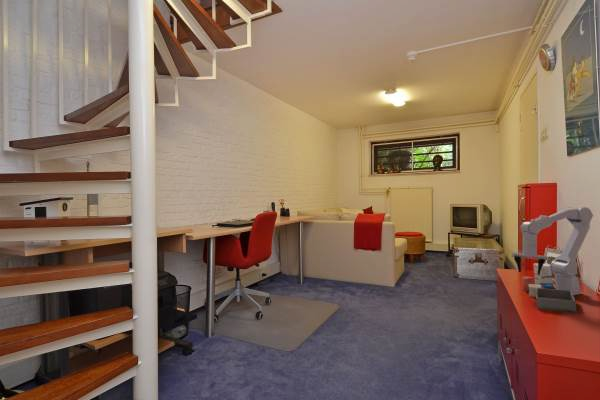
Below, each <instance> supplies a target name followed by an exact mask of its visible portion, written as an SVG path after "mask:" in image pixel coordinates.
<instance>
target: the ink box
mask: <svg viewBox="0 0 600 400" xmlns="http://www.w3.org/2000/svg"><path fill="white" fill-rule="evenodd" d="M533 272H534V284H535V285H541V288H543V289H554V282H553V281H554V280H553V274H552V273H553V272H552V271H551V269H550V264H546V263H544V264H543V266H542V268H541V271H540V275H538V262H537V263H536V262H535V263H533Z"/></svg>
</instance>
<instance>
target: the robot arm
mask: <svg viewBox="0 0 600 400" xmlns="http://www.w3.org/2000/svg"><path fill="white" fill-rule="evenodd" d="M593 217H594V214H593V212H592V210H591V209H590V207H585V206H584V207H572V206H570V207H569V206H568V207H566V208H563V209H561V210H559V211H557V212H556V213H553V214H551V215H549V216H548V215H543V214H542V215H539V216H538V217H536V218H534V219H533V218H532V219H530V221H523V222H522V224H521V225H520V226H519V230H520V231H521V233H522V234H521V235H522V253H520V252H518V253H517V252H511V257H512V258H513V259H514V261H515V263H516V266H517V269H518V273H521V272H522V265H521V264H522V259H531V260H537V263H538V275H540V271H541V268H542V266H543V264H545V262H546V261H547V262H548V261H549V255H547V256H546V255H539V254H538V253H537V252H538V251H537V250H538V249H537V248H538V234H539V233H540V231H542V230H543V229H546V228H550V227H551V226H552V225H553V223H555V222H559V221H561V220H564V219H566V220H567V221H568V223H570V224H571V225H572V227H573V229H572V231H571V233H570V235H569V238H568V240H567V241H566V243H565V246H564V248H563V250H562V252H561V254H560V255H557V256H556V257H555V258H554V260H553V261H551V263H550V264H549V266H550V269H551V272H552V273H553V274H552V275H554V283H555V289H557V290H571V291H572V294H573V296H576V295H581V294H583V292H581V289H580V280H579V278H578V277H577V276H576V274H577V272H578V266H579V264H578V262H577V261H576V258H577V256H578V253H579V252H580V249H581V247H582V245H583V243H584V241H585V239H586V237H587V234H588V233H589V231H590V227H591V220H592V219H593Z"/></svg>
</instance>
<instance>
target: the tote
mask: <svg viewBox="0 0 600 400" xmlns="http://www.w3.org/2000/svg"><path fill="white" fill-rule="evenodd" d="M574 296H575V295H573V294H572V291H571V290H557V289H556V288H543V287H541V288H536V297H535V300H536V301H535V302H536V309H537V310H541V311H543V310H544V311H549V312H550V311H551V312H561V313H562V312H563V313H568V314H569V313H572V314H577V305H576V304H577V303H576V299H575V297H574Z"/></svg>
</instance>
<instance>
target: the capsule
mask: <svg viewBox="0 0 600 400" xmlns="http://www.w3.org/2000/svg"><path fill="white" fill-rule="evenodd" d="M521 278H522V289H523V292H525V293H529V284H532V285H536V284H535V277H533V276H522V277H521Z"/></svg>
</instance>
